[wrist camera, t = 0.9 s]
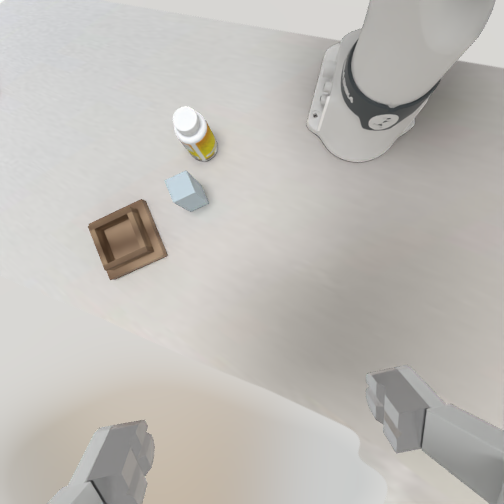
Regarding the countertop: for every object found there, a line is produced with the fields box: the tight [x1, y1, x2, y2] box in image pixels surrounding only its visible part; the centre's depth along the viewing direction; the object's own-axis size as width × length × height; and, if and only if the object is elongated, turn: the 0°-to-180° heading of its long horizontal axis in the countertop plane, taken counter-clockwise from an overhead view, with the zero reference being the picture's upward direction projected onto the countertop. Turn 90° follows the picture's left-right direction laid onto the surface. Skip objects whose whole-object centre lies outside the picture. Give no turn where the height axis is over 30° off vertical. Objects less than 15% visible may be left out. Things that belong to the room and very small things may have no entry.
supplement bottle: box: [173, 106, 217, 161], centre depth 42 cm, size 6×6×10 cm
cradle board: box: [88, 199, 168, 280], centre depth 47 cm, size 12×12×4 cm
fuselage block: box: [165, 171, 209, 212], centre depth 44 cm, size 4×4×8 cm
